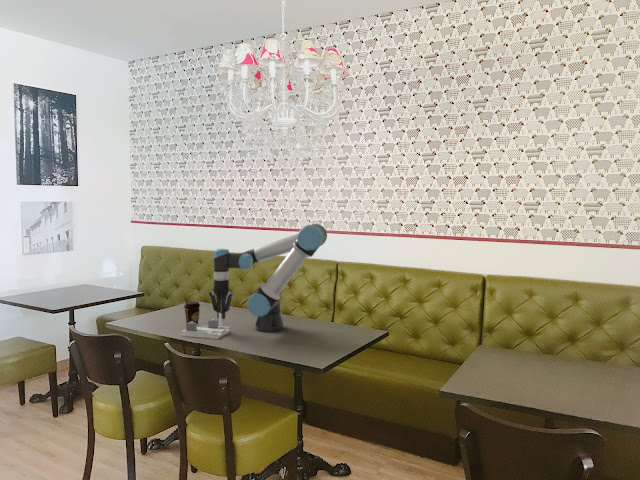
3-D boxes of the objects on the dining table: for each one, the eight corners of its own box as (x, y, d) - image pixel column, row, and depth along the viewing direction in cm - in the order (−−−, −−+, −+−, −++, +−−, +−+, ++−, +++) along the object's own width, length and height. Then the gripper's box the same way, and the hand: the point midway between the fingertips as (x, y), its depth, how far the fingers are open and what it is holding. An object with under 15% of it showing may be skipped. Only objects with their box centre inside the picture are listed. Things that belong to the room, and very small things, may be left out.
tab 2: (218, 328, 257) (218, 318, 256) (215, 330, 254) (215, 320, 253) (211, 328, 258) (211, 318, 257) (208, 329, 255) (208, 319, 254)
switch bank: (230, 331, 257) (230, 326, 256) (217, 339, 243) (217, 333, 243) (195, 328, 262) (195, 323, 262) (181, 335, 249) (181, 330, 248)
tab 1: (196, 331, 251) (196, 321, 251) (193, 332, 248) (193, 322, 248) (189, 330, 252) (189, 320, 252) (186, 332, 249) (186, 322, 249)
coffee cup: (203, 324, 271) (202, 301, 270) (197, 328, 262) (197, 304, 261) (187, 324, 272) (187, 300, 270) (181, 328, 263) (181, 303, 262)
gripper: (236, 278, 254) (236, 324, 256) (213, 277, 258) (213, 322, 260) (229, 281, 247) (229, 327, 249) (206, 279, 250) (206, 325, 253)
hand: (221, 324), depth 254 cm, fingers closed
